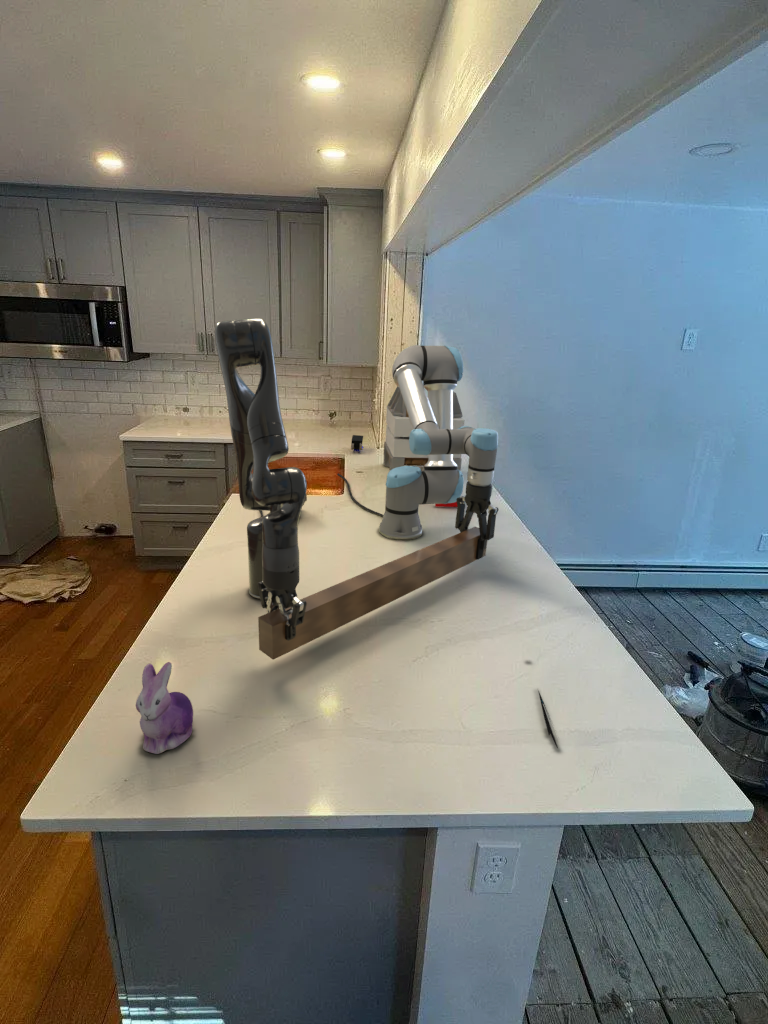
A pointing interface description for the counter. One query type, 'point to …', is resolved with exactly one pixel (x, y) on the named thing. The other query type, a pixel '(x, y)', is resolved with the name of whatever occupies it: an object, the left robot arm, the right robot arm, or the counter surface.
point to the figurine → (162, 711)
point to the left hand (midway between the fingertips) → (282, 632)
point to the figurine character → (356, 443)
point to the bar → (368, 592)
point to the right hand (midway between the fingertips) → (471, 554)
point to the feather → (547, 719)
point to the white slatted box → (400, 430)
